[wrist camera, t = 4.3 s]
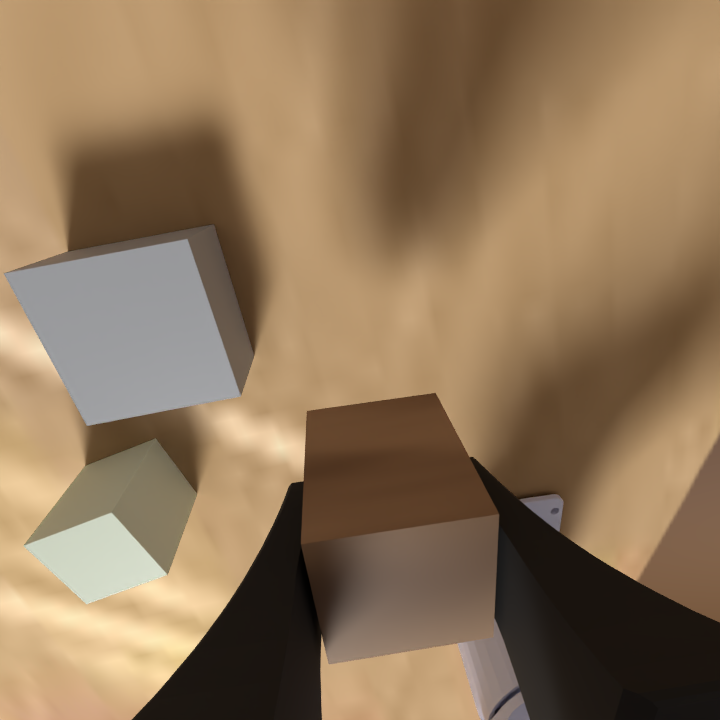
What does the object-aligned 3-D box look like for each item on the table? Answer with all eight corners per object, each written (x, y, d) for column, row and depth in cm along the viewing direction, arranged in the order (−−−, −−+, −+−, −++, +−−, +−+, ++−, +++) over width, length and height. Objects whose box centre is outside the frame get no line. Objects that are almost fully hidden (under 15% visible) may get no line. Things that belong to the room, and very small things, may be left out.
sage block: (197, 493, 23) (167, 574, 18) (132, 517, 23) (86, 604, 18) (156, 437, 21) (111, 512, 16) (85, 465, 21) (23, 545, 17)
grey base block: (254, 354, 20) (240, 396, 16) (129, 378, 20) (86, 425, 16) (214, 223, 17) (187, 238, 14) (70, 250, 17) (3, 273, 13)
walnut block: (438, 492, 15) (493, 637, 10) (325, 509, 14) (328, 664, 10) (435, 393, 13) (498, 513, 8) (307, 410, 13) (300, 544, 8)
